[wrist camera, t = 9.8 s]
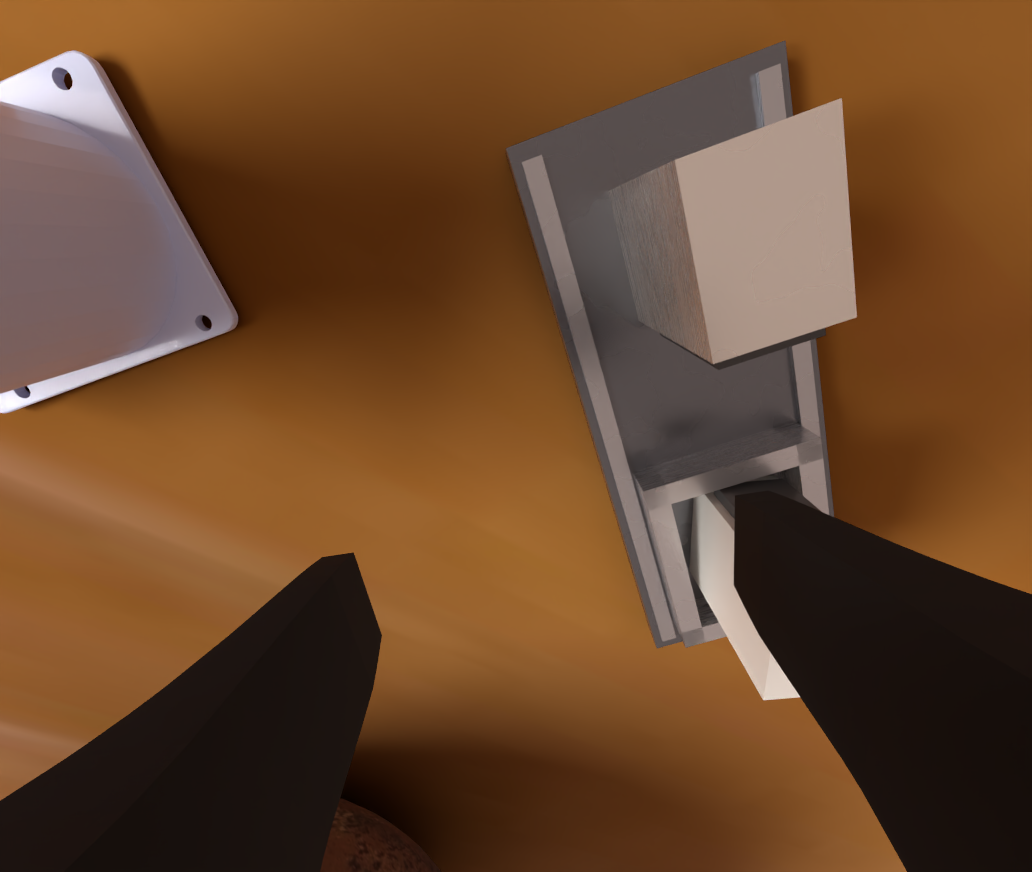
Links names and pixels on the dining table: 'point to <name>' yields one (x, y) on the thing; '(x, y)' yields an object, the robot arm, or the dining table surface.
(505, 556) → the dining table surface
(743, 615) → the block
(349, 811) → the pottery
